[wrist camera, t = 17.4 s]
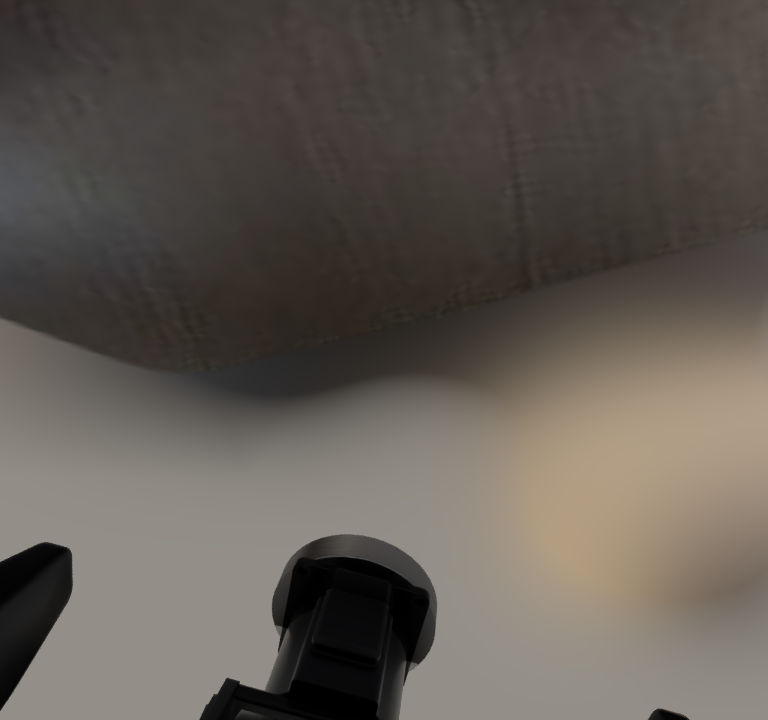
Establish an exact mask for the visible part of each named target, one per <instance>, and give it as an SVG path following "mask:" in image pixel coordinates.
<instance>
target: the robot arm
mask: <svg viewBox="0 0 768 720" xmlns="http://www.w3.org/2000/svg"><path fill="white" fill-rule="evenodd" d="M302 567H304V568H306V569H307V570H305V569H302ZM72 586H73V580H72V553H71V551H70V549H68V548H67V547H64V546H60V545H56V544H53V543H48V542H44V543H40V544H37V545H35V546H33V547H31V548H29V549H27V550H24V551H23V552H20V553H18V554H16V555H14V556H12V557H10V558H8V559H5V560H4V561H1V562H0V711H1V709H2V708H3V706H4V705H5V703H6V702H7V701H8V699H9V697H10V696H11V694H12V693H13V691H14V690H15V688H16V687H17V685H18V684H19V682H20V680H21V679H22V677H23V675H24V673H25V672H26V670H27V669H28V667H29V665H30V664H31V662H32V660H33V659H34V657H35V656H36V654H37V652H38V651H39V649H40V647H41V646H42V644H43V642H44V641H45V639H46V637H47V636H48V634H49V632H50V631H51V629H52V627H53V626H54V624H55V622H56V621H57V619H58V618H59V616H60V614H61V613H62V611H63V609H64V607H65V606H66V604H67V603H68V600H69V598H70V595H71V592H72ZM416 598H421V599H423V600H418V599H416ZM429 604H430V594H429V592H428V591H427V590H426V589H423V588H420V587H417V586H413V585H409V584H405V583H402V582H398V581H394V580H390V579H386V578H383V577H379V576H375V575H371V574H368V573H364V572H360V571H356V570H353V569H349V568H345V567H341V566H337V565H334V564H330V563H326V562H322V561H319V560H315V559H311V558H307V557H301V558H299V559H297V560H296V562H295V565H294V567H293V571H292V577H291V582H290V588H289V593H288V599H287V604H286V610H285V615H284V621H283V626H282V632H281V638H280V643H279V648H278V656H277V659H276V661H275V664H274V667H273V670H272V673H271V675H270V678H269V681H268V684H267V686H266V689H265V691H263V690H260V689H256V688H252V687H248V686H245V685H242V684H240V681H236V680H233V679H229V678H226V680H225V682H224V684H223V685H222V687H221V689H220V691H219V693H218V694H214V695H213V697H212V699H211V700H210V702H209V704H207V705H206V707H205V709H204V711H203V713H202V716H201V718H200V720H399V714H400V706H401V698H402V691H403V686H404V683H405V680H406V677H407V674H408V671H409V668H410V665H411V661H412V658H413V655H414V652H415V649H416V646H417V643H418V639H419V636H420V633H421V630H422V627H423V624H424V621H425V617H426V614H427V611H428V608H429ZM648 720H689V719H688V718H687V717H686V716H684V715H682V714H679V713H675V712H671V711H668V710H664V709H656V710H655V711H653V713H652V714H651V716H650V717H649V719H648Z"/></svg>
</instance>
